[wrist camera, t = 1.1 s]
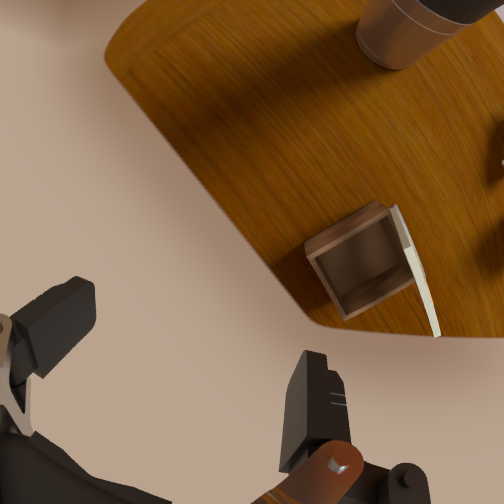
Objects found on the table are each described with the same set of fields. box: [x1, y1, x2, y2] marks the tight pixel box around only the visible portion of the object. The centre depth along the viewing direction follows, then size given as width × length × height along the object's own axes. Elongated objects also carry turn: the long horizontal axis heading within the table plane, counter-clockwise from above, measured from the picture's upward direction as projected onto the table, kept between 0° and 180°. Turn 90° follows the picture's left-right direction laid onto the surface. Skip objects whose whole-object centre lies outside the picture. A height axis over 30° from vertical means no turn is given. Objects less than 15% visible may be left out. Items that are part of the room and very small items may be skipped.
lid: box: [389, 204, 441, 337], centre depth 25 cm, size 12×10×1 cm
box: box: [304, 201, 416, 321], centre depth 34 cm, size 11×10×6 cm
